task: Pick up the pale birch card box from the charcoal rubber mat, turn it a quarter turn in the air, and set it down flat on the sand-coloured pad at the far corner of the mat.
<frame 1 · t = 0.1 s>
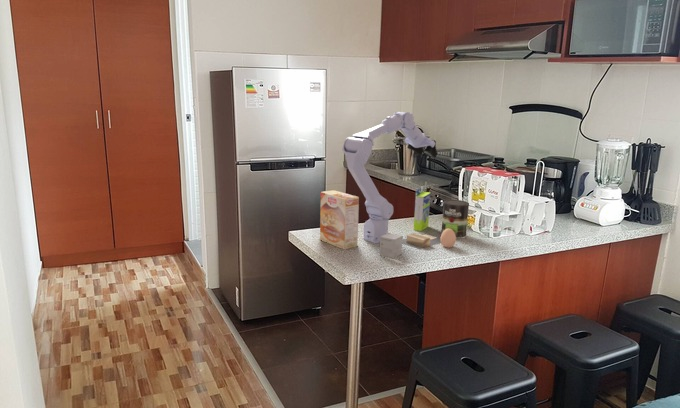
hand: (428, 154, 217), 32 cm above the countertop, tool tilted 50°, fingers open, 7 cm apart
card box: (418, 243, 200), resting on mat
mat: (422, 242, 204), on the countertop
egg: (447, 248, 198), on the countertop
box: (420, 229, 223), on the countertop
coffee can: (453, 236, 214), on the countertop
product box: (390, 255, 188), on the countertop
coffeecake box: (338, 243, 201), on the countertop
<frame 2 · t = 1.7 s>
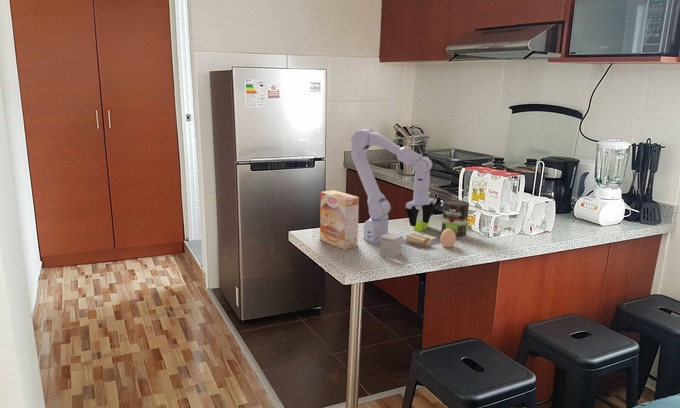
hand: (419, 224, 199), 8 cm above the countertop, tool pointing down, fingers open, 7 cm apart
nothing on the countertop moved.
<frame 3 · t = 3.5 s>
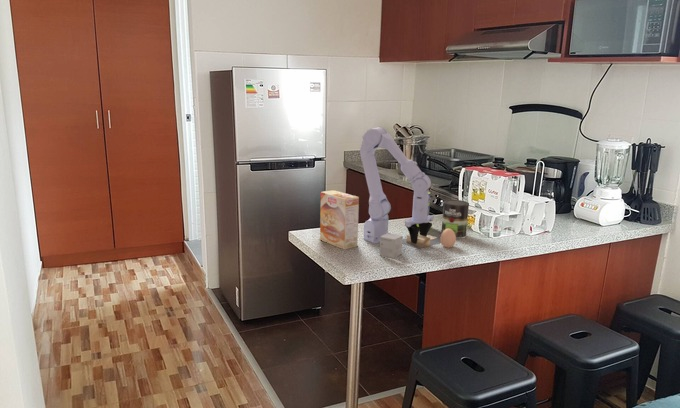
hand: (418, 241, 200), 1 cm above the countertop, tool pointing down, fingers closed on card box, 4 cm apart
card box: (418, 243, 200), resting on mat, touching gripper
everything else where it was.
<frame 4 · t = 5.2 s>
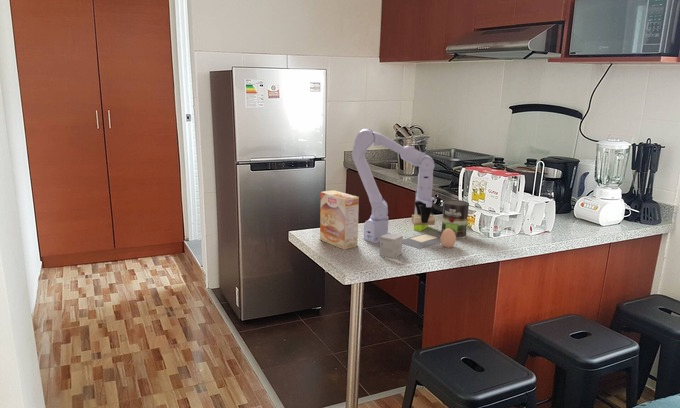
hand: (422, 220, 203), 8 cm above the countertop, tool pointing down, fingers closed on card box, 4 cm apart
card box: (422, 223, 204), point 7 cm above the countertop, touching gripper
everything else where it was.
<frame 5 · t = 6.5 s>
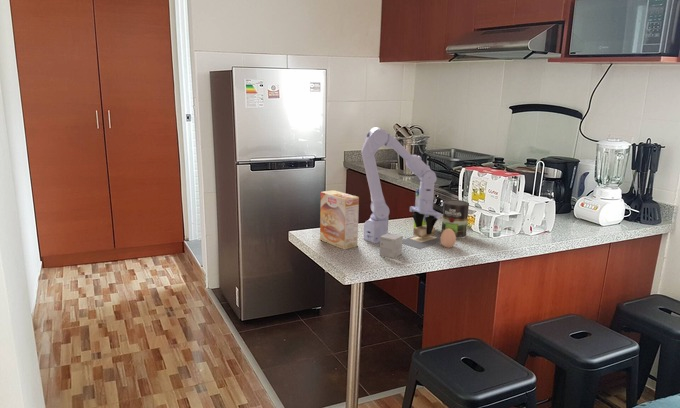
hand: (423, 232, 207), 3 cm above the countertop, tool pointing down, fingers closed on card box, 4 cm apart
card box: (424, 234, 208), point 2 cm above the countertop, touching gripper
everything else where it was.
when the fingers open (3 cm above the countertop, at t = 7.4 s): card box drops 1 cm, resting on mat.
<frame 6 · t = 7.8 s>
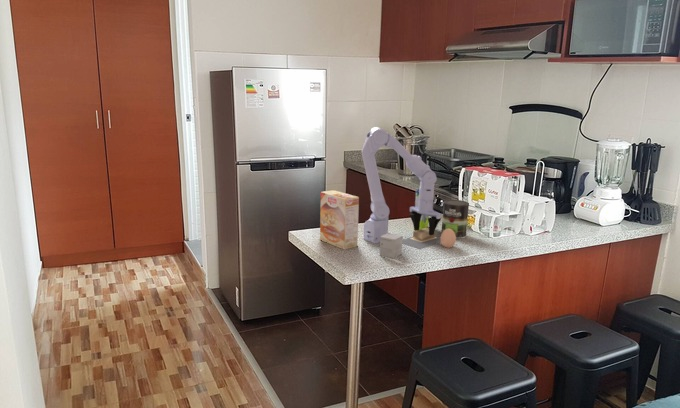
hand: (423, 232, 207), 3 cm above the countertop, tool pointing down, fingers open, 7 cm apart
card box: (423, 238, 208), point 1 cm above the countertop, touching mat
everything else where it was.
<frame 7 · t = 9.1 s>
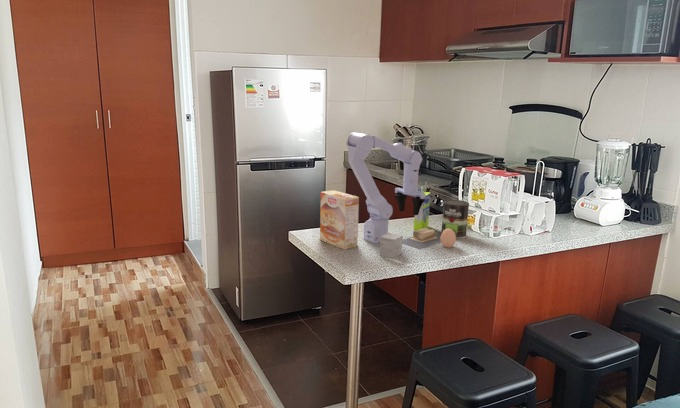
hand: (408, 212, 211), 9 cm above the countertop, tool pointing down, fingers open, 7 cm apart
nothing on the countertop moved.
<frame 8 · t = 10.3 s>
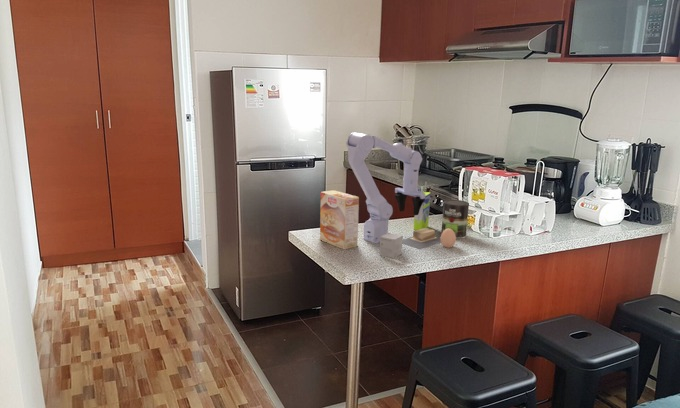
hand: (408, 212, 211), 9 cm above the countertop, tool pointing down, fingers open, 7 cm apart
nothing on the countertop moved.
at the end: card box 0.2 cm from the target spot on the mat, point 0.6 cm above the mat's base; card box tilted 0°; the gripper is holding nothing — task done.
